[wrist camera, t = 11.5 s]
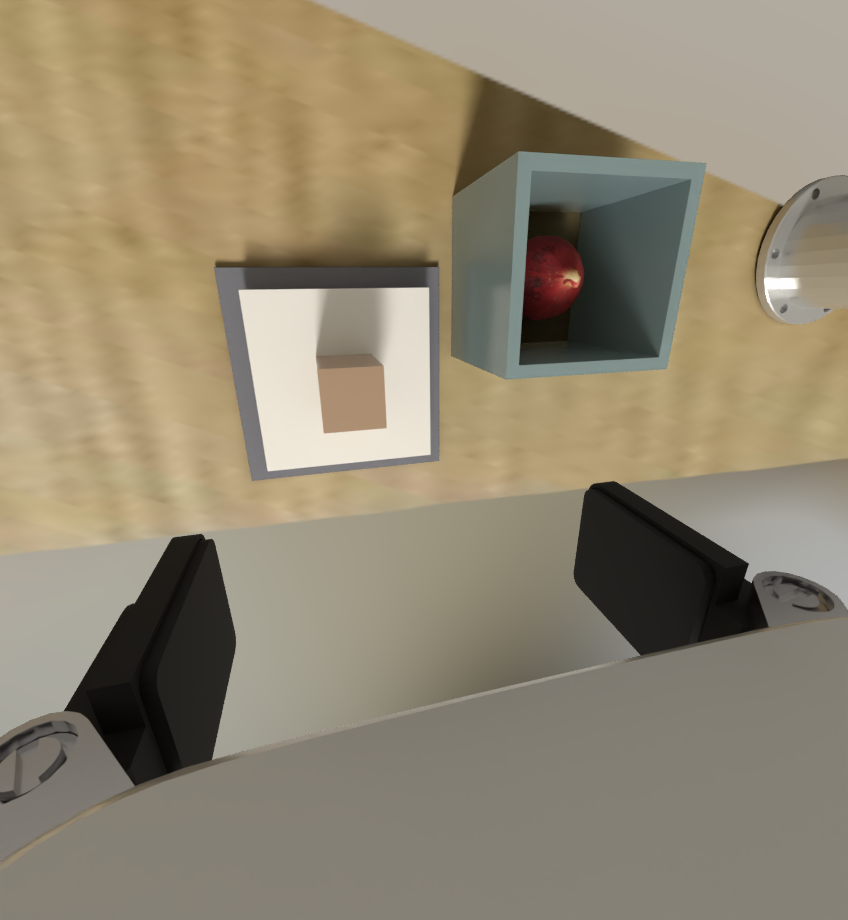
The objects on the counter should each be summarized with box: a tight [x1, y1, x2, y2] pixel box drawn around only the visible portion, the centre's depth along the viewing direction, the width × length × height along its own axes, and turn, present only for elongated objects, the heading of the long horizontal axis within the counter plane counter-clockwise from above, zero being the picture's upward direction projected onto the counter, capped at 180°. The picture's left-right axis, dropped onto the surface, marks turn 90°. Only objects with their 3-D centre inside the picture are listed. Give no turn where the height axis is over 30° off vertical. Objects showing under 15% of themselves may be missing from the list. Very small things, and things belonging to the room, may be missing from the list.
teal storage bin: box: [451, 151, 706, 379], centre depth 30 cm, size 12×12×11 cm
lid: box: [239, 288, 431, 471], centre depth 30 cm, size 13×13×8 cm
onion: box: [522, 236, 584, 320], centre depth 31 cm, size 6×6×8 cm
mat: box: [214, 267, 439, 481], centre depth 34 cm, size 16×16×1 cm
